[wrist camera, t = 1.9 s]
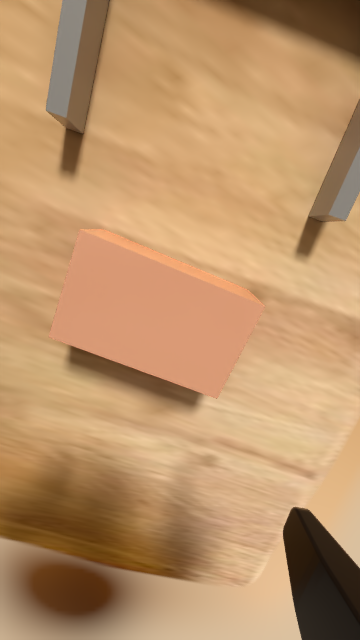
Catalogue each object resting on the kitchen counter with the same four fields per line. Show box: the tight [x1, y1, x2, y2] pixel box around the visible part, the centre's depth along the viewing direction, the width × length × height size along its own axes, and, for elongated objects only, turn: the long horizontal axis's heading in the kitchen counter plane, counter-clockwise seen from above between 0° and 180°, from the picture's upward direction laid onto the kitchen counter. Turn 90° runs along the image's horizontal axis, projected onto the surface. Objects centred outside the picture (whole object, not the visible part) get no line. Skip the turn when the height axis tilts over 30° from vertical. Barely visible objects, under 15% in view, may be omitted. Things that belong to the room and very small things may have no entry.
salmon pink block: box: [49, 229, 265, 399], centre depth 17 cm, size 6×10×4 cm, turn 68°
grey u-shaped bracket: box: [46, 0, 360, 222], centre depth 14 cm, size 11×16×2 cm
